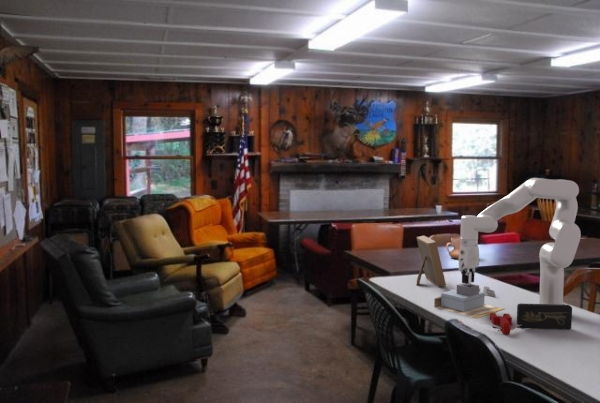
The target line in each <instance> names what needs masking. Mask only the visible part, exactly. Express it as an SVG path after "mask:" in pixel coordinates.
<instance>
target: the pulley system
mask: <svg viewBox="0 0 600 403" xmlns="http://www.w3.org/2000/svg"><path fill="white" fill-rule="evenodd" d="M479 291H480V292H481V288H480V287H479ZM482 292H484V293H485V294H484V295H485V297H491V298H495V299H496V291H495V290H492V289H491V287H490V286H484V287H483V290H482Z"/></svg>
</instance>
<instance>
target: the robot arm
mask: <svg viewBox="0 0 600 403" xmlns="http://www.w3.org/2000/svg"><path fill="white" fill-rule="evenodd" d="M579 193H580V188H579V185H578V184H577V183H576V182H575V181H573V180H567V179H561V178H560V179H558V178H557V179H549V178H542V177H541V178H539V177H531V178H529V179H528V180H525V181H524V182H523V183H522V184H520V185H519V186H518V187H516V188H515V189H513V191H511V192H510V193H509V194H508V195H506V196H504V197H503V198H501V199H499V200H497V201H496V202H494V203H493V204H491V205H489V206H488V207H487V208H485V209H484V210H483V211H481V212H480V213H479V214H478V215H477V216H476V215H471V214H468V215H467V214H466V215H462V216H461V218H460V236H459V237H460V251H459V259H458V271H459V272H460V273H461V284H463V283H465V284H468V283H469V275H468V272H472V278H471V283H475V274H476V270H477V268H478V267H479V266H480V249H479V244H478V242H479V241H478V240H479V232H480V233H488V234H489V233H493V232H495V231H497V228H498V226H499V224H498V220H500V219H502V218H503V217H505V216H508V215H512V214H515V213H518V212H520V211H521V210H523V209H524V208H525V207H526V206H527V205H529V204H530V203H532V202H533V201H535V200H536V199H537V198H538V199H546V200H554V201H555V206H556V207H555V211H554V215H553V217H552V221H551V224H550V227H549V231H548V233H549V236H550V238H551V239H553V240H554V242H546V243H545V244H543V245H542V246H541V247H540V250H539V254H538V256H539V265H540V266H539V269H540V275H539V277H540V278H539V300H538V301H539V302H538V304H561V305H566V303H564V283H565V282H564V281H565V280H564V279H565V271H564V268H565V269H566V268H567V267H570V265H571V264H572V263H573V261H574V258H575V255H576V253H577V250H578V247H579V244H580V240H581V236H582V234H581V229H580V227H579V226H578V225H577V224H576V223H575V222H576V218H577V217H576V216H577V215H578V214H577V213H578V209H579V207H578V201H577V196H578V195H579Z"/></svg>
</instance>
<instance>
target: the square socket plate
mask: <svg viewBox="0 0 600 403" xmlns="http://www.w3.org/2000/svg"><path fill="white" fill-rule="evenodd" d="M479 288H480V285H478V284H474V283H471V287H468V286H464V283H459V284H456V288H455V289H452V290H448V291H445V292H441V295H440V297H441V306H444V307H448V308H451V309H455V310H459V311H463V312H464V311H468V310H471V309H474V308H477V307H481V306H484V304H485V298H486V296H485V295H484V294H485V293H484V292H483V291H481V290H480V291H479Z"/></svg>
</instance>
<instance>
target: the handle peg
mask: <svg viewBox="0 0 600 403" xmlns="http://www.w3.org/2000/svg"><path fill="white" fill-rule="evenodd" d="M468 275H469V283H468V284H465V283H464V286H468V287H471V284H472V282H471V278H472V272H469V271H468Z"/></svg>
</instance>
